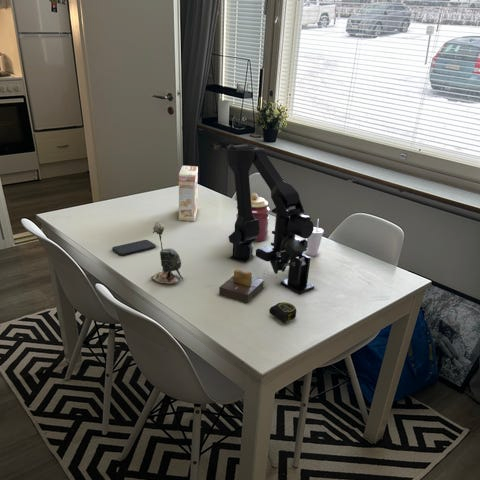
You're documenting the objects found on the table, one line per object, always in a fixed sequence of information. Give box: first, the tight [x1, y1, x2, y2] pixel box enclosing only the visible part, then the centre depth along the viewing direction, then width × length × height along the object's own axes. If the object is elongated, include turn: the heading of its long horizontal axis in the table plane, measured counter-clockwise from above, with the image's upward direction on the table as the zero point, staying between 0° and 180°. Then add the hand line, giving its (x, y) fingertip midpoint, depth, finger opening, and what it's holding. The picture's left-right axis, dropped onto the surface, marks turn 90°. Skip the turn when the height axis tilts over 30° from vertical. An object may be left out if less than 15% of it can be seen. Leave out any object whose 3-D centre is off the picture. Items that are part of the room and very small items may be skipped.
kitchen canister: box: [236, 192, 271, 243], centre depth 200 cm, size 13×13×18 cm
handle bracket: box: [279, 253, 315, 296], centre depth 166 cm, size 9×7×11 cm
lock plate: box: [218, 275, 265, 304], centre depth 163 cm, size 12×10×3 cm
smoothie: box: [306, 218, 325, 257], centre depth 189 cm, size 6×6×14 cm
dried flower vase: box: [150, 222, 184, 285], centre depth 162 cm, size 8×11×20 cm
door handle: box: [278, 257, 306, 272], centre depth 168 cm, size 13×3×3 cm, turn 41°
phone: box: [111, 239, 157, 256], centre depth 188 cm, size 7×1×15 cm
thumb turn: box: [233, 268, 253, 286], centre depth 161 cm, size 6×2×4 cm, turn 64°
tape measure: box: [269, 301, 297, 324], centre depth 149 cm, size 7×7×4 cm
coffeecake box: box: [178, 165, 199, 222], centre depth 218 cm, size 15×7×20 cm, turn 179°
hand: (279, 272), depth 173 cm, fingers closed on door handle, 3 cm apart
